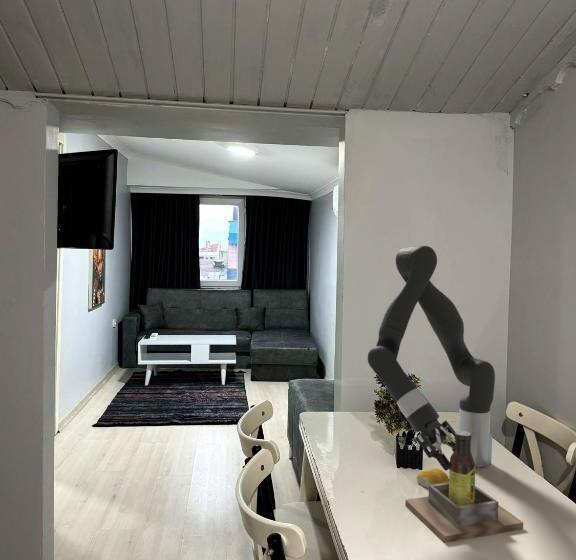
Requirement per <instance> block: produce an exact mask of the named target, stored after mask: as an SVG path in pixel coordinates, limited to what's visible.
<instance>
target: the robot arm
mask: <svg viewBox="0 0 576 560" xmlns="http://www.w3.org/2000/svg"><path fill="white" fill-rule="evenodd" d="M436 253H437V252H435V249H433V247H431V246H429V245H417V246H416V245H414V246H409V247H404V248H401V249H399V250H398V252H397V253H396V256H395V265H396V269H397V271H398V273H399V274H400V277H402V279H403V281H404V283H405V284H404V286H403V288H402V289H401V291H400V292H399V294H398V295H397V296H396V297H395V298H394V299H393V301H392V302H391V303H390V304H389V306H388V308H387V309H386V311H385V313H384V317H383V319H382V322H381V324H380V326H379V330H378V339H377V342H376V346H374V347H372V348H371V349H370V350H369V351H368V354H367V363H368V365H369V367H370V368H371V370H372V371H373V372H374V373H375V374H376V376H377V377H378V378H379V379H380V380H381V382H382V383H383V384H384V386H385V387H386V390H387V391H388V393H389V395H390V396H391V397H392V399H393V400H394V402H395V404H396V405H397V406H398V408H399V410H400V411H401V413H402V415H404V417H405V418H406V420H407V421H408V423H409V424H410V426H411V427H412V428H413V430H414V431H415V432H416V433H418V435H417V436H416V437H415V439H416V441H417V443H418V444H419V445H420V448H421V449H422V450H423V452H424V453H425V455H426V456H427V458H429V459H431V458H433V459H436V460H437V462H438V464H439V465H440V467H442V469H443V471H444V472H446V471H449V469H450V468H451V467H452V465H451V463H450V459H448V458H447V456H446V454H445V453H444V452H443V451H442V445H446V446H447V447H449V448H450V449H451V451H452V452H453V453H454V451H455V432H456V431H455V429H454V428H453V426H451V424H450V423H449V422H448V420H444V421H442V422H439V418H440V415H439V413H438V412H437V411H436V410H435V408H434V406H433V405H432V403H430V401H429V399H427V397H426V396H425V395H424V393H423V392H421V391H420V389H419V388H418V387H417V386H416V384H415V383H414V382H413V380H412V379H411V378H410V376H408V374H407V373H406V372H405V370H403V368H402V366H401V364H400V363H399V362H398V360H397V359H398V356H399V351H400V347H401V343H402V340H403V339H404V336H405V333H406V330H407V329H408V325H409V322H410V319H411V316H412V315H413V312H414V309H415V307H416V306H417V303H418V305H419V306H420V307H421V309H422V311H423V313H424V315H425V316H426V319H427V321H428V323H429V324H430V326H431V329H432V331H433V332H434V334H435V335H436V337H437V339H438V341H439V342H440V344H441V347H442V348H443V350H444V353H445V354H446V356H447V358H448V360H449V361H448V362H449V363H450V366H451V369H452V371H453V372H454V373H453V374H454V375H455V378H456V379H457V380H458V381H459V383H461V384H462V385H464V386H467V387H469V390H468V396H467V395H466V396H463V397H461V398H460V399H459V409H458V410H459V414H458V416H459V417H458V418H459V419H458V431H466V432H469V433H471V438H472V439H471V453H472V457H473V460H474V463H475V468H486V467H487V466H489V465H490V464H492V457H493V456H492V454H493V453H492V452H493V450H492V449H493V448H492V447H493V434H492V433H491V432H490V431H491V430H490V427H491V406H492V403H493V401H494V394H495V382H496V374H495V368H494V367H493V365H492V364H491V363H490V362H489V361H486V360H483V359H480V358H477V357H474V356H473V355H472V354H471V352H470V350H469V348H468V347H467V345H466V342H465V340H464V338H465V337H464V336H465V333H464V332H465V326H464V321H463V319H462V317H461V315H460V311H458V309H457V307H456V305H455V304H454V302H453V301H452V300H451V299H450V298H449V297H448V296H446V294H444V293H443V292H442V290H440V289H438V288H437V286H435V285H434V283H432V281H431V278H432V276H433V274H435V270H436V268H437V264H438V256H437V254H436Z"/></svg>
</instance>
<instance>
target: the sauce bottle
mask: <svg viewBox="0 0 576 560" xmlns="http://www.w3.org/2000/svg"><path fill="white" fill-rule="evenodd" d="M471 439H472V438H471V433H469V432H466V431H459V430H457V431H455V451H454V452H453V453H452V454H451V455H450V458H449V462H450V463H451V465H452V467H451V468H450V469H448V471H449V472H448V473H449V475H448V477H449V499H450V500H451V501H452V502H453V503H455V504H456V505H457V506H458V507H459V506H466V505H472V504H474V501H475V486H476V467H475V463H474V460H473V457H472V453H471Z"/></svg>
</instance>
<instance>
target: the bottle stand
mask: <svg viewBox="0 0 576 560" xmlns="http://www.w3.org/2000/svg"><path fill="white" fill-rule="evenodd" d="M405 506H406V507H407V508H408V509H409V511H411V512H412V513H413V514H414V515H415V516H416V517H417V518H418V519H419V520H420V521H421V522H422V523H424V524H423V525H425V526H426V527H427V528H428V529H430V530H431V532H433V534H435V535H436V536H437V537H438V538H439V539H440V540H441V541H442V542H443V543H449V542H450V543H451V542H454V541H455V542H456V541H461V540H467V539H472V538H478V537H482V536H490V535H495V534H500V533H506V532H510V531H518V530H523V529H524V521H522V520H521V519H519V518H518V517H516V516H515V515H513V514H511V512H509V511H508V510H507V509H505V508H503V506H501V505H500V504H499V501H498V500H496V499H494V498H493V497H492V496H491V495H489V494H488V493H486V492H485V491H483V490H482V489H481V488H479V487H477V486H476V485H475V501H474V504H472V505H466V506H459V507H458V506H457V505H456V504H455V503H453V502H452V501H451V500H450V499H449V483H442V484H435V485H429V488H428V496H422V497H416V498H408V499H405Z"/></svg>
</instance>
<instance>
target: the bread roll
mask: <svg viewBox="0 0 576 560" xmlns="http://www.w3.org/2000/svg"><path fill="white" fill-rule="evenodd" d="M416 482H417V483H418V484H419V485H420V486H421V487H424V488H426V489H429V485H435V484H442V483H449V475H448V474H447V473H446V471H445V470H442V469H440V468H435V467H434V468H427V469H425V470H421V471H419V472H418V473H417V475H416Z"/></svg>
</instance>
